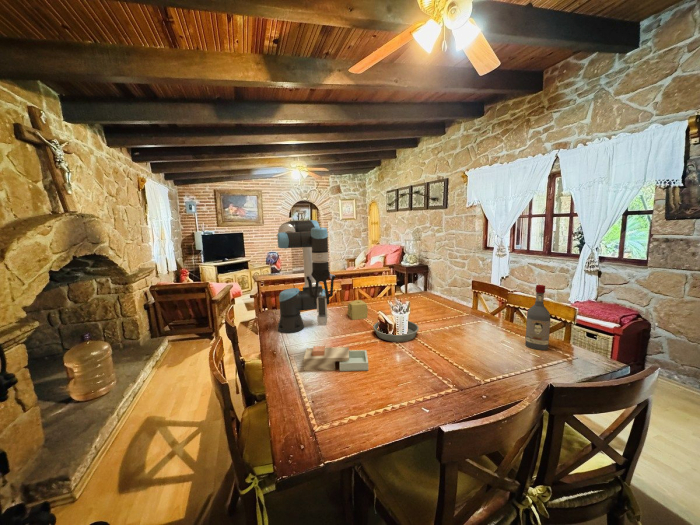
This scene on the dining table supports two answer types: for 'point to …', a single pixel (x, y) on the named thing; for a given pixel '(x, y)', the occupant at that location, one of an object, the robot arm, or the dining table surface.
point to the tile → (318, 350)
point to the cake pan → (398, 338)
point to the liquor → (538, 323)
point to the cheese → (357, 310)
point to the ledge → (325, 359)
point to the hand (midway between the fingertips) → (322, 311)
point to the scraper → (321, 312)
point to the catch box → (355, 361)
